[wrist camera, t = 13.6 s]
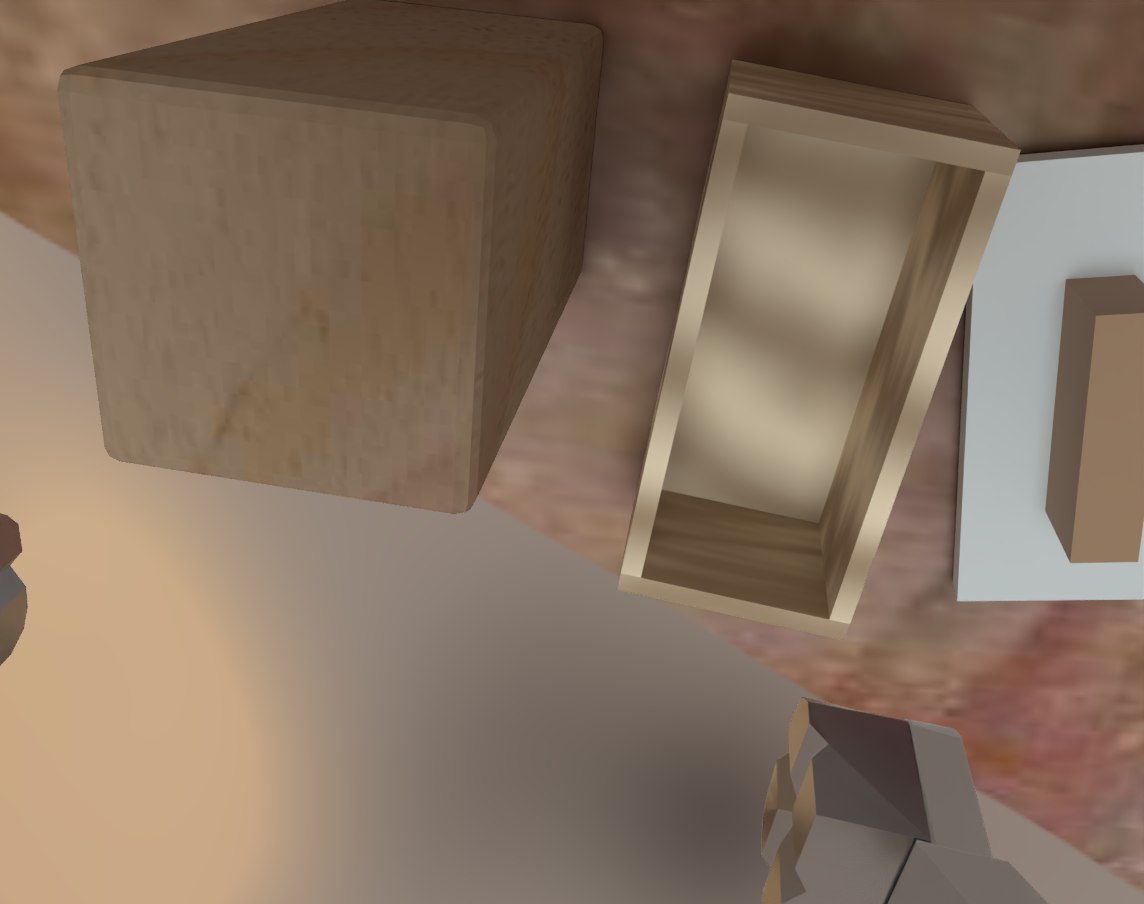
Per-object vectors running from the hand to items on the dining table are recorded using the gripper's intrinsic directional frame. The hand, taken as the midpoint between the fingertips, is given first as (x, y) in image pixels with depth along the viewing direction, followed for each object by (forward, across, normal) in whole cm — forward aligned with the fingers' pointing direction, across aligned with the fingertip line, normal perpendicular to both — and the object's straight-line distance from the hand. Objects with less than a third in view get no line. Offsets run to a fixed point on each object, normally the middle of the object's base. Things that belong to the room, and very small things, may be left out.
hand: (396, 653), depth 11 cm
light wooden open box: (+34, -7, +7) cm, 36 cm away
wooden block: (+34, +7, +3) cm, 35 cm away
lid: (+34, -19, +8) cm, 39 cm away
